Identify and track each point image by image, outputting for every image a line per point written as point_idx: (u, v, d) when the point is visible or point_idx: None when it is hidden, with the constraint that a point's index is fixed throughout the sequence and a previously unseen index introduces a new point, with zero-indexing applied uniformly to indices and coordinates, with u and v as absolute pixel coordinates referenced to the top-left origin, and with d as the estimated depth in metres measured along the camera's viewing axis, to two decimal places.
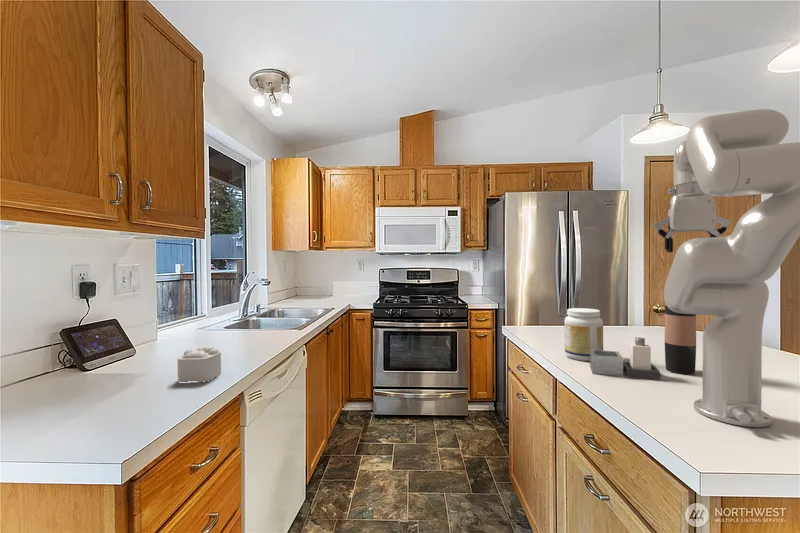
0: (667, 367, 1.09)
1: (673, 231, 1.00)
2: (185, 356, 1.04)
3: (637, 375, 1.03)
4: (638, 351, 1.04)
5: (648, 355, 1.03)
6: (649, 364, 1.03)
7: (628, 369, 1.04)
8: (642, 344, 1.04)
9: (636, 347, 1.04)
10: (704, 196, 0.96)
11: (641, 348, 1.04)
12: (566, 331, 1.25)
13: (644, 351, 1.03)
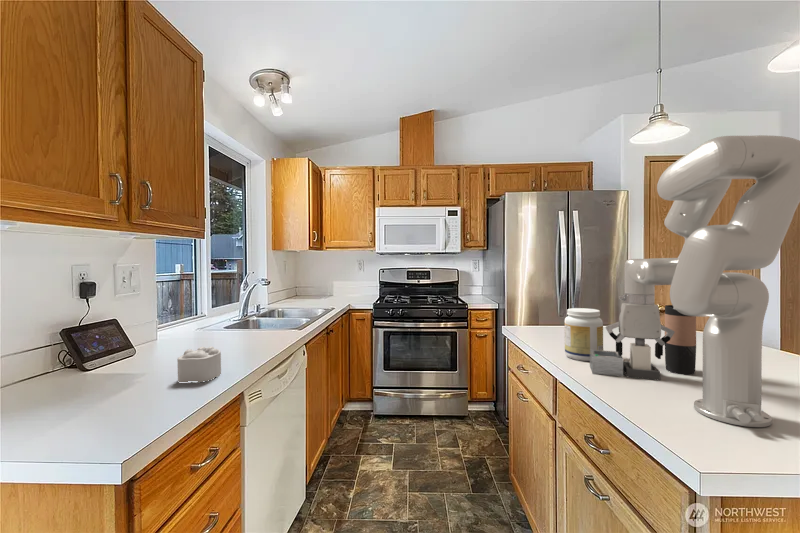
0: (667, 367, 1.09)
1: (623, 336, 1.06)
2: (185, 356, 1.04)
3: (637, 375, 1.03)
4: (638, 351, 1.04)
5: (648, 355, 1.03)
6: (649, 364, 1.03)
7: (628, 369, 1.04)
8: (642, 344, 1.04)
9: (636, 347, 1.04)
10: (650, 308, 1.02)
11: (641, 348, 1.04)
12: (566, 331, 1.25)
13: (644, 351, 1.03)
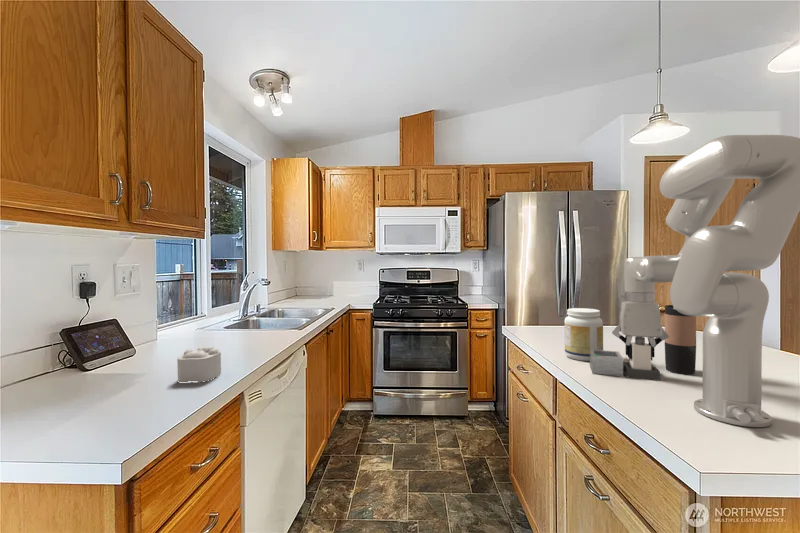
0: (667, 367, 1.09)
1: (630, 337, 1.05)
2: (185, 356, 1.04)
3: (637, 375, 1.03)
4: (638, 350, 1.03)
5: (648, 354, 1.02)
6: (649, 363, 1.02)
7: (628, 369, 1.04)
8: (642, 343, 1.04)
9: (636, 346, 1.04)
10: (650, 306, 1.02)
11: (641, 347, 1.03)
12: (566, 331, 1.25)
13: (644, 350, 1.03)
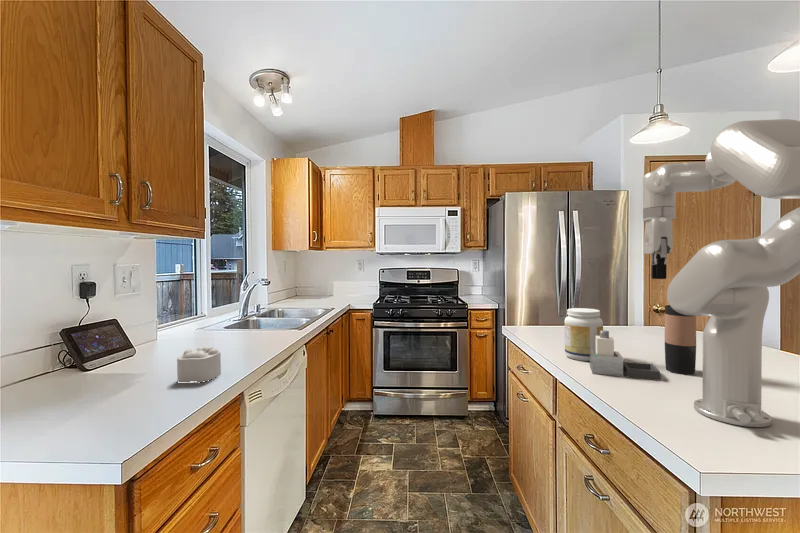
0: (667, 367, 1.09)
1: (651, 256, 1.03)
2: (185, 356, 1.04)
3: (637, 375, 1.03)
4: (596, 341, 1.11)
5: (597, 346, 1.09)
6: None
7: (628, 369, 1.04)
8: (600, 336, 1.09)
9: None
10: (649, 222, 1.00)
11: (596, 338, 1.10)
12: (566, 331, 1.25)
13: (596, 341, 1.09)
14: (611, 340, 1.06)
